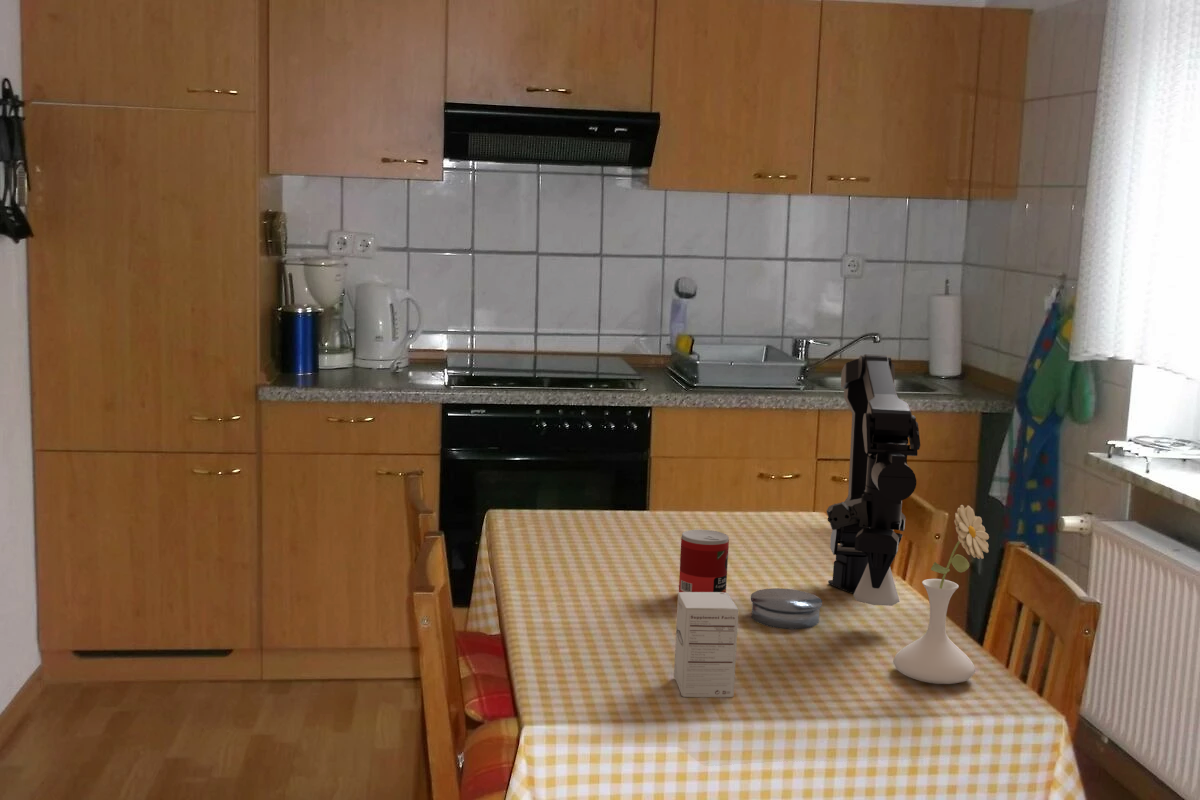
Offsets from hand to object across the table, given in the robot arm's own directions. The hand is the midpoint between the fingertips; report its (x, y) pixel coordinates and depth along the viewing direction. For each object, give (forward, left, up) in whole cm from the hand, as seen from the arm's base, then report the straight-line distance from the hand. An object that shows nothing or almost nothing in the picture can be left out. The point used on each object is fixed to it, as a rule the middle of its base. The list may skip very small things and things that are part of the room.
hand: (877, 583), depth 205 cm
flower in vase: (+5, +20, -8) cm, 22 cm away
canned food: (+17, -24, -8) cm, 30 cm away
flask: (0, 0, -3) cm, 3 cm away
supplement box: (+39, +11, -8) cm, 41 cm away
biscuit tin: (+10, -10, -8) cm, 16 cm away
